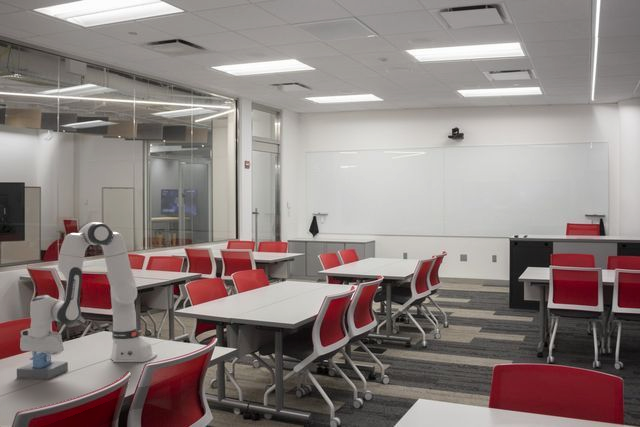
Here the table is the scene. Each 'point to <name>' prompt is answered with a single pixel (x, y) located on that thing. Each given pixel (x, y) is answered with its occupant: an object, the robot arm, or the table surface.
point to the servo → (40, 359)
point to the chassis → (42, 370)
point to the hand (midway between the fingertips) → (42, 360)
